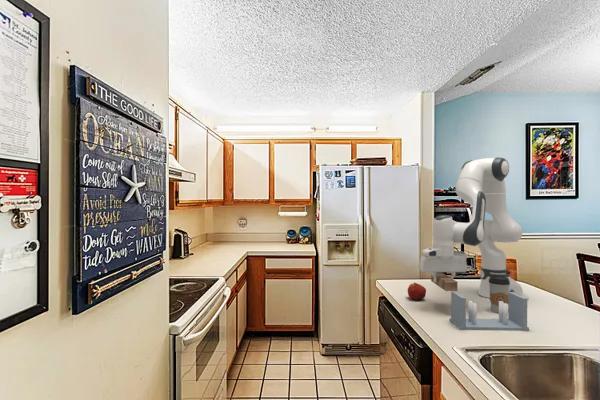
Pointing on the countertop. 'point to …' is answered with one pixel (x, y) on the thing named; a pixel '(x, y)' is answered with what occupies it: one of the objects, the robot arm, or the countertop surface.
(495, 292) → the coffee cup
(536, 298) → the countertop surface
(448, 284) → the shelf board
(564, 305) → the countertop surface
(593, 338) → the countertop surface
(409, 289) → the tomato
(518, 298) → the shelf stand
